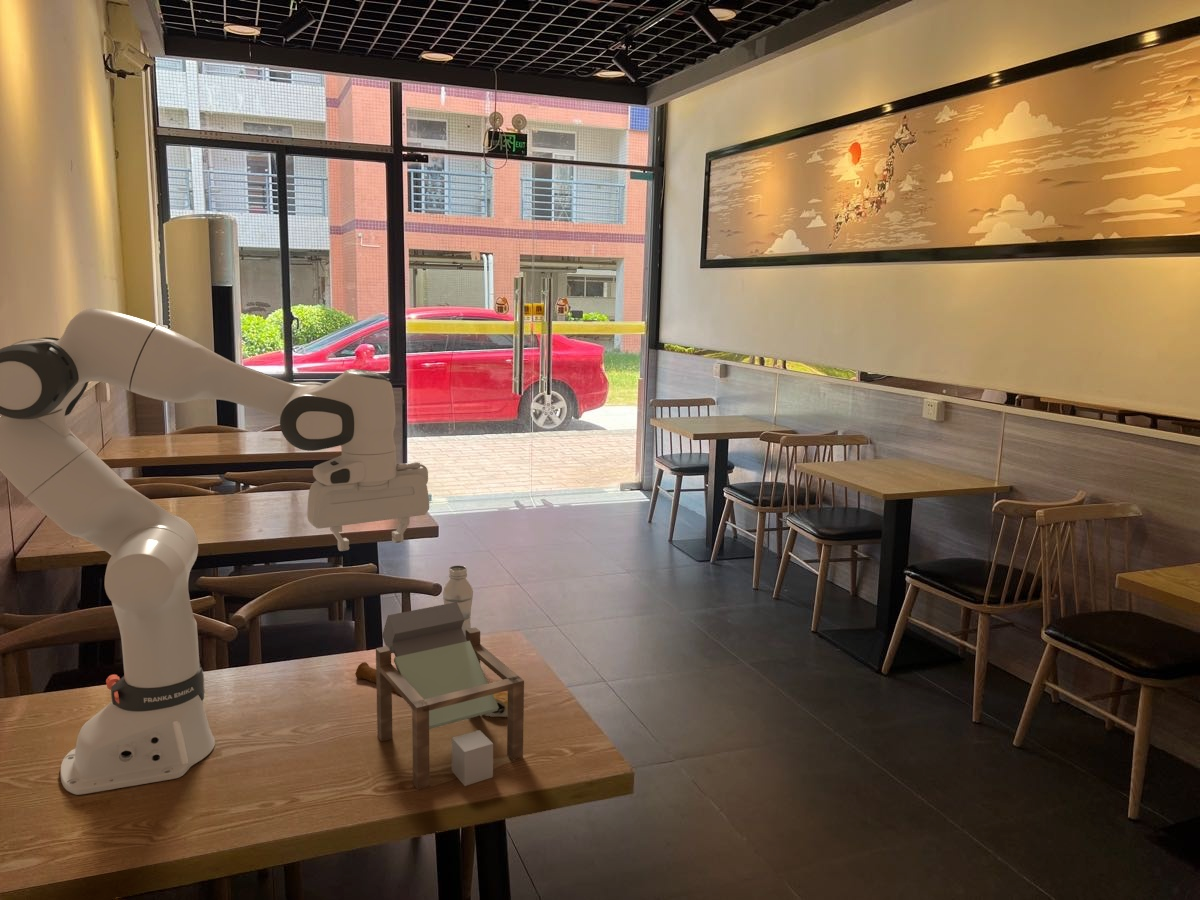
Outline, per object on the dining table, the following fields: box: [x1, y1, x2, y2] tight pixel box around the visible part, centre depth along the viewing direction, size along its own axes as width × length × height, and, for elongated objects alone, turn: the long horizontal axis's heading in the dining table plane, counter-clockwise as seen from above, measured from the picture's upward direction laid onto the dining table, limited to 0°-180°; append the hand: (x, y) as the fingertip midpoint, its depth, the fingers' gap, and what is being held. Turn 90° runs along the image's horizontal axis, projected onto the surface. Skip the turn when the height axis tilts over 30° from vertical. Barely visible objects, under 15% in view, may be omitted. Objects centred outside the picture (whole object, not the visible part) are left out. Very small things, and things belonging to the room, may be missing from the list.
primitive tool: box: [354, 662, 401, 696], centre depth 169 cm, size 19×6×4 cm, turn 63°
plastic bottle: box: [442, 564, 474, 637], centre depth 182 cm, size 6×7×20 cm
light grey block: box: [451, 729, 494, 787], centre depth 141 cm, size 5×5×6 cm
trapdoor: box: [381, 602, 499, 730], centre depth 150 cm, size 14×21×6 cm
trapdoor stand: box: [375, 626, 525, 791], centre depth 148 cm, size 19×19×16 cm
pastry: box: [482, 690, 508, 718], centre depth 164 cm, size 9×7×4 cm
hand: (371, 545), depth 148 cm, fingers open, 8 cm apart
